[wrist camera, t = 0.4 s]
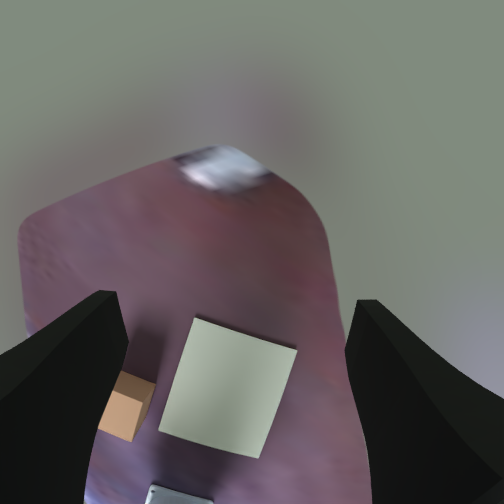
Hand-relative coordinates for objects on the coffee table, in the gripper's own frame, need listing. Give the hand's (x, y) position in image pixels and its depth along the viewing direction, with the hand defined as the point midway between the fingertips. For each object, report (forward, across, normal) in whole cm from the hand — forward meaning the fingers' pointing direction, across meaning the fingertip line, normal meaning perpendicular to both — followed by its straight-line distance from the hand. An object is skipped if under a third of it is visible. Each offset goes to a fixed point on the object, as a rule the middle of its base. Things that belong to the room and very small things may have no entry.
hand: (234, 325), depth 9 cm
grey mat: (+16, +2, +23) cm, 28 cm away
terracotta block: (+14, +13, +23) cm, 30 cm away
